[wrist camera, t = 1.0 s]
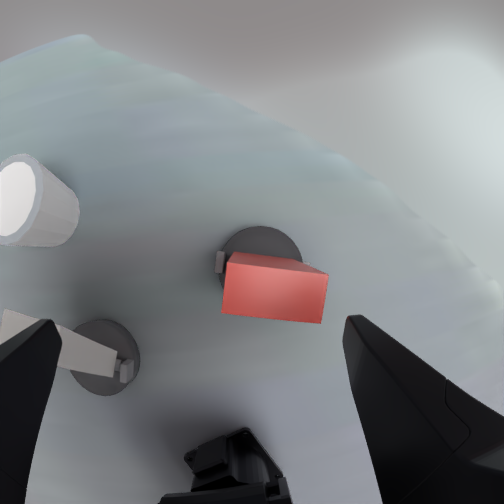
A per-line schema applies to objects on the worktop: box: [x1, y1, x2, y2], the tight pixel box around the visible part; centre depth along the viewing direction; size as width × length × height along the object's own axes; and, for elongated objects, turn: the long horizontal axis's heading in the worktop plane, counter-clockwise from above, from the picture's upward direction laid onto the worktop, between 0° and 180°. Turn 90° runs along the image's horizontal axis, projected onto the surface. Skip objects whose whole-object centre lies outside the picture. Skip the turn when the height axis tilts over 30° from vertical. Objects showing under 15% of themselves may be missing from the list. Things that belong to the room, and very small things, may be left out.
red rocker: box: [221, 252, 329, 324], centre depth 17 cm, size 2×5×10 cm, turn 83°
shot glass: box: [0, 154, 80, 247], centre depth 20 cm, size 7×7×7 cm
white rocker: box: [0, 308, 123, 377], centre depth 16 cm, size 2×5×10 cm, turn 83°
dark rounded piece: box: [214, 226, 310, 289], centre depth 22 cm, size 6×6×4 cm
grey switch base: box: [70, 320, 140, 396], centre depth 21 cm, size 6×6×4 cm
